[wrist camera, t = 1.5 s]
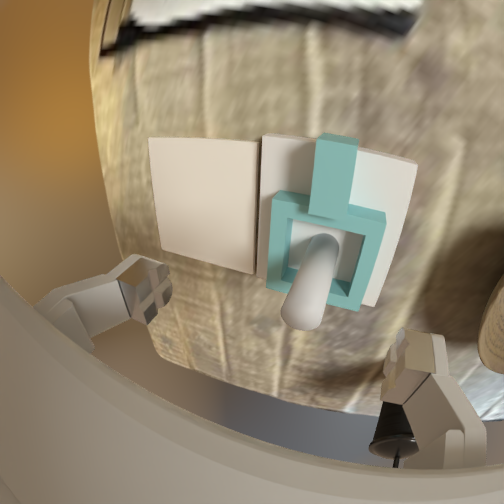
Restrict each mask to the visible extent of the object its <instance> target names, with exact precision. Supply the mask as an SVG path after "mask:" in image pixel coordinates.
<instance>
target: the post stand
mask: <svg viewBox="0 0 504 504" xmlns="http://www.w3.org/2000/svg"><path fill="white" fill-rule="evenodd" d="M316 140H317V139H312V138H305V137H298V136H291V135H282V134H273V133H268V134H266V135H263V136H262V159H261V184H260V208H259V231H258V254H257V275H256V277H258V278H262V279H266V280H267V267H268V253H269V239H270V224H271V208H272V199H273V197H274V196H275V195H276V194H277V193H278V192H279V191H280V190H284V191H289V192H295V193H300V194H305V195H310V196H311V187H312V179H313V170H314V160H315V150H316ZM417 168H418V165H417V163H416V162H415V161H414V160H411V159H407V158H404V157H400V156H396V155H392V154H388V153H384V152H380V151H375V150H371V149H367V148H362V147H358V150H357V157H356V164H355V170H354V176H353V182H352V188H351V194H350V200H349V204H353V205H357V206H361V207H366V208H370V209H374V210H378V211H382V212H385V214H386V222H387V225H386V228H385V232H384V235H383V239H382V242H381V246H380V249H379V253H378V256H377V259H376V262H375V265H374V268H373V271H372V274H371V277H370V280H369V283H368V286H367V289H366V292H365V295H364V297H363V300H362V303H361V304H364V305H368V306H373V307H374V306H375V304H376V302H377V299H378V297H379V294H380V291H381V289H382V286H383V284H384V281H385V278H386V276H387V273H388V270H389V267H390V264H391V262H392V259H393V256H394V253H395V250H396V247H397V244H398V240H399V237H400V234H401V231H402V227H403V224H404V220H405V217H406V213H407V210H408V206H409V202H410V198H411V194H412V190H413V186H414V181H415V177H416V172H417ZM362 239H363V235H362V234H358V233H353V232H349V231H345V230H341V229H336V228H332V227H327V226H323V225H318V224H314V223H309V222H305V221H300V220H295V219H293V225H292V234H291V242H290V251H289V259H288V267H290V268H294V269H298V272H297V274H296V277H295V279H294V281H293V283H292V286H291V288H290V290H289V292H288V295H287V297H286V299H285V301H284V303H283V306H282V308H281V317H282V319H283V320H284V321H285V323H286V324H288V325H289V326H290V327H292V328H294V329H297V330H302V331H308V330H313V329H315V328H316V327H318V326H319V324H320V323H321V320H322V316H323V313H324V309H325V305H326V302H327V298H328V294H329V290H330V286H331V282H332V278H335V279H339V280H343V281H347V282H351V279H352V275H353V272H354V269H355V265H356V261H357V258H358V254H359V250H360V247H361V243H362Z"/></svg>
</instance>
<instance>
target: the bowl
mask: <svg viewBox="0 0 504 504" xmlns="http://www.w3.org/2000/svg"><path fill="white" fill-rule="evenodd" d="M477 343H478V353H479V356H480V359H481V361H482V363H483V364H484V365H485V366H486V367H487V368H488V369H490V370H492V371H494V372H497V373H500V374H504V274H503V276H502V277H501V279H500V280H499V282H498V283H497V285H496V286H495V288H494V290H493V292H492V294H491V296H490V298H489V300H488V302H487V305H486V308H485V310H484V313H483V316H482V319H481V323H480V327H479V331H478V342H477Z"/></svg>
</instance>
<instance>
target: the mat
mask: <svg viewBox="0 0 504 504" xmlns="http://www.w3.org/2000/svg"><path fill="white" fill-rule="evenodd" d="M148 145H149V157H150V167H151V177H152V186H153V194H154V202H155V209H156V216H157V223H158V230H159V236H160V242H161V248H162V250H166V251H169V252H173V253H176V254H179V255H183V256H187V257H190V258H194V259H197V260H201V261H204V262H208V263H211V264H215V265H219V266H222V267H226V268H230V269H233V270H237V271H241V272H244V273H248V274H252V275H253V273H254V271H255V245H256V220H257V193H258V167H259V142H257V141H246V140H234V139H220V138H201V137H149V138H148Z"/></svg>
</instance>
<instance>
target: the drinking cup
mask: <svg viewBox="0 0 504 504" xmlns="http://www.w3.org/2000/svg"><path fill="white" fill-rule="evenodd" d="M369 451H370V452H371V453H373V454H375V455H378V456H380V457H383V458H386V459H394V463H393V468H398V465H399V459H404V458H408V457H410V456H412V455H414V454H415V453H417V452H418V451H420V450H419V448H418V445H417V442H416V439H415V437H414V434H413V431H412V429H411V426H410V424H409V421H408V419H407V416H406V414H405V411H404V409H403V405H401V404H395V403H390V402H385V401H383V404H382V408H381V412H380V416H379V420H378V424H377V427H376V431H375V434H374V438H373V441H372V442H371V443H370V445H369Z"/></svg>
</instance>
